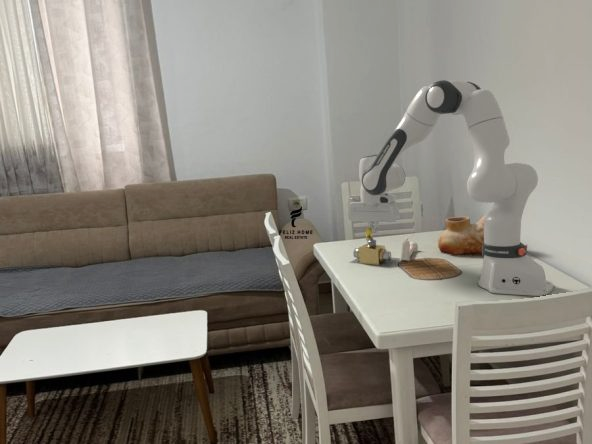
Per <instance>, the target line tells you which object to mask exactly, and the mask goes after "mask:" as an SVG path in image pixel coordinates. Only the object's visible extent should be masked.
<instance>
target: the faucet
mask: <svg viewBox="0 0 592 444" xmlns="http://www.w3.org/2000/svg"><path fill="white" fill-rule="evenodd" d="M409 238H411V236H410V235H408V236H406V237H405V238H404V240H403V241H402V243H401V244H402V245H401V254H400V255H401V256H400V258H401V259H400V261H407V262H410V261H411V259H410V258H411V256H412V254H413V252H415V253H418V251H419V245H418V243H417V242H415V241H409Z"/></svg>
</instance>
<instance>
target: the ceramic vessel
mask: <svg viewBox="0 0 592 444" xmlns="http://www.w3.org/2000/svg"><path fill="white" fill-rule="evenodd" d="M487 214H488V213H486V214H485V215H483V216H482V217H481V218H480V219H479V220H478V221H476V223H473V224H472V223H471V220H470V219H471V218H470V217H469V216H452V217H447V218H445V225H446V230H444V231H443V232H442V233H441V234H440V236H439V238H438V242H437V247H438V248H439V251H440V253H442V254H445V253H447V255H450V254H451V256H458V255H460V257H461V256H482V245H483V242H484V219H485V217H486V215H487Z"/></svg>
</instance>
